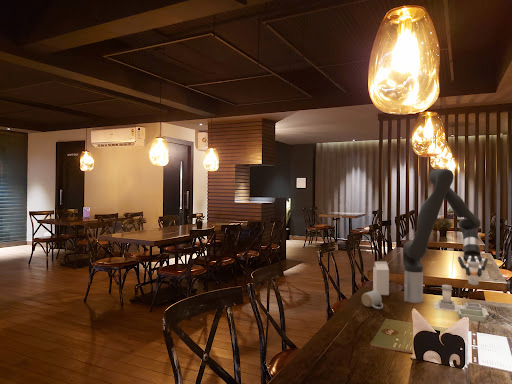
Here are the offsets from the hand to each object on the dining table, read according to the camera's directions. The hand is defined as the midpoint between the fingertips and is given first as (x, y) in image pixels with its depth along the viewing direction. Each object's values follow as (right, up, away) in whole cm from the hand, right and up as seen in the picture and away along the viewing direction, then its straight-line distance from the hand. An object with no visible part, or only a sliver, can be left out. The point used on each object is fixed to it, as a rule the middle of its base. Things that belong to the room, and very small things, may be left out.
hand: (474, 275), depth 188 cm
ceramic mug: (-47, -19, +11) cm, 52 cm away
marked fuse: (+1, -5, +2) cm, 5 cm away
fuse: (-10, -18, +7) cm, 22 cm away
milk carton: (-35, -19, +34) cm, 53 cm away
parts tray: (-6, -19, -8) cm, 21 cm away
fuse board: (-5, -19, +4) cm, 20 cm away
